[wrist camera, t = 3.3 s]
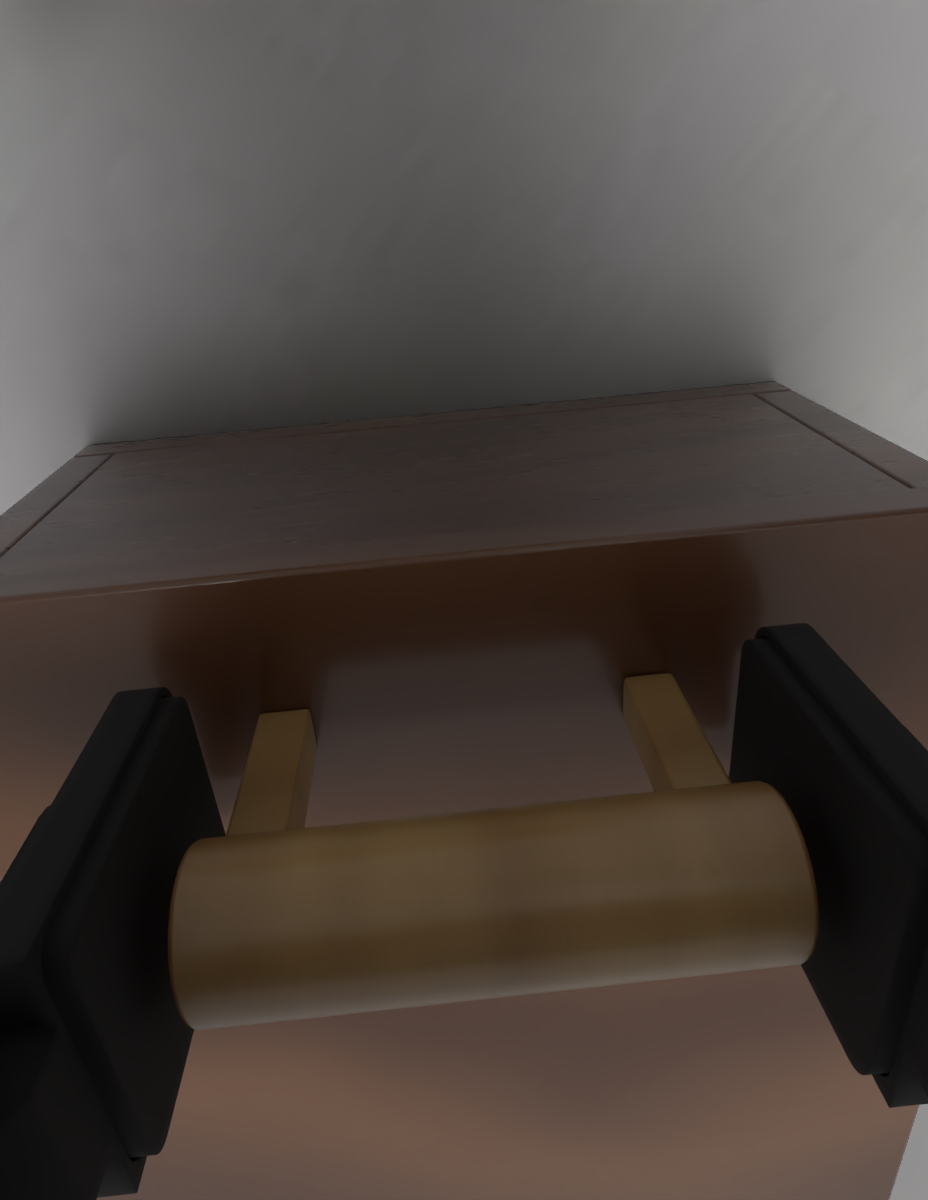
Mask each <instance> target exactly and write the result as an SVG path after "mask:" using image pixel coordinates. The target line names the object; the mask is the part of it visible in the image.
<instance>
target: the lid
mask: <svg viewBox="0 0 928 1200" xmlns="http://www.w3.org/2000/svg"><path fill="white" fill-rule="evenodd" d="M797 623H807V624H809V625H810V626H811V627H813V629H814V630H815V631H816V632H817V633H818V634H819V635H820V636H821V637H822V638H823V639H824V640H825V641H826V643H827V644H828V645H829V646H830V647H831V648H832V649H833V650H834V651H835V652H836V653H837V654H838V655H839V657H840V658H841V659H842V660H843V661H844V662H845V663H846V664H847V665H848V666H849V667H850V668H851V670H852V671H853V672H854V673H855V674H856V675H857V676H858V677H859V678H860V679H861V680H862V681H863V682H864V684H865V685H866V686H867V687H868V688H869V689H870V690H871V691H872V692H873V693H874V694H875V695H876V696H877V698H878V699H879V700H880V701H881V702H882V703H883V704H884V705H885V706H886V707H887V708H888V709H889V711H890V712H891V713H892V714H893V715H894V716H895V717H896V718H897V719H898V720H899V721H900V722H901V723H902V725H904V726H905V727H906V728H907V729H908V730H909V731H910V732H911V733H912V734H913V735H914V736H915V738H916V739H917V740H918V741H919V742H920V743H921V744H922V745H923V746H924V747H925V748H926V749H927V750H928V487H922V488H912V489H902V490H891V491H881V492H870V493H860V494H850V495H839V496H829V497H819V498H808V499H798V500H788V501H777V502H767V503H757V504H746V505H736V506H725V507H715V508H705V509H694V510H684V511H674V512H663V513H653V514H643V515H632V516H622V517H612V518H601V519H591V520H580V521H570V522H560V523H549V524H539V525H529V526H518V527H508V528H498V529H487V530H477V531H466V532H456V533H446V534H435V535H425V536H415V537H404V538H394V539H384V540H373V541H363V542H353V543H342V544H332V545H321V546H311V547H301V548H290V549H280V550H270V551H259V552H249V553H239V554H228V555H218V556H208V557H197V558H187V559H176V560H166V561H156V562H145V563H135V564H125V565H114V566H104V567H94V568H83V569H73V570H63V571H52V572H42V573H31V574H21V575H11V576H0V882H1V881H2V879H3V877H4V876H5V874H6V872H7V870H8V869H9V867H10V865H11V864H12V862H13V860H14V858H15V857H16V855H17V853H18V852H19V850H20V848H21V847H22V845H23V843H24V841H25V840H26V838H27V836H28V835H29V833H30V831H31V829H32V828H33V826H34V824H35V823H36V821H37V819H38V818H39V816H40V815H41V814H42V812H43V811H44V810H45V809H46V807H48V806H50V805H51V804H52V802H53V800H54V799H55V797H56V795H57V794H58V792H59V790H60V788H61V787H62V785H63V783H64V781H65V780H66V778H67V776H68V774H69V773H70V771H71V769H72V768H73V766H74V764H75V762H76V761H77V759H78V757H79V755H80V754H81V752H82V750H83V749H84V747H85V745H86V743H87V742H88V740H89V738H90V736H91V735H92V733H93V731H94V729H95V728H96V726H97V724H98V723H99V721H100V719H101V717H102V716H103V714H104V712H105V710H106V709H107V707H108V705H109V704H110V702H111V700H112V698H113V697H114V696H115V694H116V693H117V692H120V691H127V690H137V689H147V688H157V687H166V688H167V689H169V691H170V692H171V694H172V696H173V697H181V696H182V697H183V698H185V700H186V701H187V703H188V706H189V709H190V713H191V716H192V719H193V723H194V726H195V730H196V733H197V737H198V740H199V744H200V747H201V751H202V754H203V758H204V761H205V765H206V768H207V772H208V775H209V778H210V782H211V785H212V789H213V792H214V796H215V799H216V803H217V806H218V810H219V813H220V817H221V820H222V824H223V827H224V831H225V834H226V836H221V837H212V838H203V839H200V840H198V841H196V842H194V843H193V844H191V845H190V846H189V848H188V849H187V850H186V852H185V854H184V856H183V858H182V860H181V862H180V865H179V868H178V871H177V874H176V878H175V882H174V886H173V891H172V897H171V902H170V910H169V921H168V966H169V975H170V982H171V988H172V993H173V997H174V1001H175V1005H176V1008H177V1011H178V1013H179V1015H180V1017H181V1019H182V1020H183V1022H184V1023H185V1024H186V1025H187V1026H188V1027H190V1028H192V1029H194V1032H193V1036H192V1040H191V1044H190V1048H189V1052H188V1056H187V1060H186V1064H185V1068H184V1072H183V1076H182V1080H181V1084H180V1088H179V1092H178V1096H177V1100H176V1103H175V1107H174V1111H173V1115H172V1119H171V1123H170V1127H169V1131H168V1135H167V1138H166V1141H165V1145H164V1146H163V1148H162V1150H161V1152H160V1153H159V1154H158V1155H152V1156H147V1159H146V1162H145V1166H144V1170H143V1174H142V1177H141V1181H140V1185H139V1188H138V1192H137V1193H135V1194H126V1195H117V1196H108V1197H100V1198H97V1199H96V1200H889V1199H890V1195H891V1192H892V1189H893V1186H894V1183H895V1180H896V1176H897V1173H898V1170H899V1167H900V1164H901V1161H902V1157H903V1154H904V1151H905V1148H906V1145H907V1142H908V1139H909V1136H910V1133H911V1129H912V1126H913V1123H914V1119H915V1117H916V1114H917V1111H918V1107H919V1105H911V1106H902V1107H894V1108H889V1107H888V1105H887V1103H886V1101H885V1099H884V1097H883V1095H882V1093H881V1091H880V1090H879V1088H878V1086H877V1084H876V1082H875V1080H874V1078H873V1076H872V1075H861V1074H859V1073H858V1072H857V1071H856V1070H855V1069H854V1067H853V1066H852V1064H851V1062H850V1061H849V1059H848V1057H847V1055H846V1053H845V1051H844V1049H843V1047H842V1045H841V1043H840V1041H839V1039H838V1037H837V1035H836V1033H835V1031H834V1029H833V1028H832V1026H831V1024H830V1022H829V1020H828V1018H827V1016H826V1014H825V1012H824V1010H823V1008H822V1006H821V1004H820V1002H819V1000H818V998H817V996H816V994H815V992H814V990H813V988H812V986H811V984H810V982H809V980H808V978H807V976H806V974H805V972H804V970H803V968H802V967H801V964H803V963H804V962H806V961H807V960H809V959H810V958H811V956H812V955H813V953H814V950H815V948H816V944H817V939H818V932H819V907H818V896H817V889H816V883H815V878H814V872H813V868H812V864H811V860H810V856H809V853H808V850H807V846H806V843H805V841H804V838H803V835H802V832H801V830H800V827H799V825H798V823H797V821H796V818H795V816H794V814H793V812H792V811H791V809H790V807H789V805H788V804H787V802H786V801H785V799H784V798H783V796H782V795H781V794H780V793H779V792H778V791H777V790H776V789H775V788H774V787H773V786H771V785H770V784H768V783H765V782H761V781H750V782H740V783H732V782H731V780H730V779H729V771H730V761H731V751H732V740H733V730H734V720H735V710H736V700H737V690H738V679H739V669H740V659H741V650H742V646H743V643H744V642H745V641H746V640H750V639H755V635H756V633H757V630H758V629H760V628H761V627H767V626H777V625H787V624H797Z"/></svg>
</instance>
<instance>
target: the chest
mask: <svg viewBox="0 0 928 1200" xmlns="http://www.w3.org/2000/svg"><path fill="white" fill-rule="evenodd" d="M922 487H928V461H927V460H925V459H923V458H921V457H919V456H917V455H915V454H913V453H911V452H909V451H907V450H905V449H904V448H902V447H900V446H898V445H896V444H894V443H892V442H890V441H888V440H886V439H884V438H882V437H881V436H879V435H877V434H875V433H873V432H871V431H869V430H867V429H865V428H863V427H861V426H859V425H858V424H856V423H854V422H852V421H850V420H848V419H846V418H844V417H842V416H840V415H838V414H837V413H835V412H833V411H831V410H829V409H827V408H825V407H823V406H821V405H819V404H817V403H815V402H814V401H812V400H810V399H808V398H806V397H804V396H802V395H800V394H798V393H796V392H794V391H791V389H789V388H787V387H785V386H783V385H781V384H779V383H777V382H764V383H753V384H743V385H732V386H721V387H710V388H700V389H689V390H678V391H667V392H657V393H646V394H635V395H625V396H614V397H603V398H592V399H582V400H571V401H560V402H550V403H539V404H528V405H517V406H507V407H496V408H485V409H474V410H464V411H453V412H442V413H432V414H421V415H410V416H399V417H389V418H378V419H367V420H357V421H346V422H335V423H324V424H314V425H303V426H292V427H281V428H271V429H260V430H249V431H239V432H228V433H217V434H206V435H196V436H185V437H174V438H164V439H153V440H142V441H131V442H121V443H110V444H99V445H89V446H87V447H85V448H84V449H83V450H82V451H80V452H79V453H78V454H77V455H75V456H74V458H72V459H70V460H69V461H68V462H67V463H65V464H64V465H63V466H62V467H60V468H59V469H58V470H57V471H55V472H54V473H53V474H52V475H50V476H49V477H48V478H47V479H45V480H44V481H43V482H42V483H40V484H39V485H38V486H37V487H35V488H34V489H33V490H32V491H30V492H29V493H28V494H27V495H26V496H24V497H23V498H22V499H21V500H19V501H18V502H17V503H16V504H14V505H13V506H12V507H11V508H9V509H8V510H7V511H6V512H4V513H3V514H2V515H1V516H0V576H11V575H21V574H31V573H42V572H52V571H63V570H73V569H83V568H94V567H104V566H114V565H125V564H135V563H145V562H156V561H166V560H176V559H187V558H197V557H208V556H218V555H228V554H239V553H249V552H259V551H270V550H280V549H290V548H301V547H311V546H321V545H332V544H342V543H353V542H363V541H373V540H384V539H394V538H404V537H415V536H425V535H435V534H446V533H456V532H466V531H477V530H487V529H498V528H508V527H518V526H529V525H539V524H549V523H560V522H570V521H580V520H591V519H601V518H612V517H622V516H632V515H643V514H653V513H663V512H674V511H684V510H694V509H705V508H715V507H725V506H736V505H746V504H757V503H767V502H777V501H788V500H798V499H808V498H819V497H829V496H839V495H850V494H860V493H870V492H881V491H891V490H902V489H912V488H922Z"/></svg>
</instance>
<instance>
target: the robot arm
mask: <svg viewBox="0 0 928 1200" xmlns="http://www.w3.org/2000/svg"><path fill="white" fill-rule="evenodd" d="M729 779H730V780H731V782H732V783H740V782H750V781H761V782H765V783H768V784H770V785H771V786H773V787H774V788H775V789H776V790H777V791H778V792H779V793H780V794H781V795H782V796H783V798H784V799H785V801H786V802H787V804H788V805H789V807H790V809H791V811H792V812H793V814H794V816H795V818H796V821H797V823H798V825H799V827H800V830H801V832H802V835H803V838H804V841H805V843H806V846H807V850H808V853H809V856H810V860H811V864H812V868H813V872H814V878H815V883H816V889H817V896H818V907H819V932H818V939H817V944H816V948H815V950H814V953H813V955H812V956H811V958H810V959H809V960H807V961H806V962H804V963H803V964H801V967H802V968H803V970H804V972H805V974H806V976H807V978H808V980H809V982H810V984H811V986H812V988H813V990H814V992H815V994H816V996H817V998H818V1000H819V1002H820V1004H821V1006H822V1008H823V1010H824V1012H825V1014H826V1016H827V1018H828V1020H829V1022H830V1024H831V1026H832V1028H833V1029H834V1031H835V1033H836V1035H837V1037H838V1039H839V1041H840V1043H841V1045H842V1047H843V1049H844V1051H845V1053H846V1055H847V1057H848V1059H849V1061H850V1062H851V1064H852V1066H853V1067H854V1069H855V1070H856V1071H857V1072H858V1073H859V1074H861V1075H872V1076H873V1078H874V1080H875V1082H876V1084H877V1086H878V1088H879V1090H880V1091H881V1093H882V1095H883V1097H884V1099H885V1101H886V1103H887V1105H888V1107H889V1108H894V1107H902V1106H911V1105H920V1104H928V750H927V749H926V748H925V747H924V746H923V745H922V744H921V743H920V742H919V741H918V740H917V739H916V738H915V736H914V735H913V734H912V733H911V732H910V731H909V730H908V729H907V728H906V727H905V726H904V725H902V723H901V722H900V721H899V720H898V719H897V718H896V717H895V716H894V715H893V714H892V713H891V712H890V711H889V709H888V708H887V707H886V706H885V705H884V704H883V703H882V702H881V701H880V700H879V699H878V698H877V696H876V695H875V694H874V693H873V692H872V691H871V690H870V689H869V688H868V687H867V686H866V685H865V684H864V682H863V681H862V680H861V679H860V678H859V677H858V676H857V675H856V674H855V673H854V672H853V671H852V670H851V668H850V667H849V666H848V665H847V664H846V663H845V662H844V661H843V660H842V659H841V658H840V657H839V655H838V654H837V653H836V652H835V651H834V650H833V649H832V648H831V647H830V646H829V645H828V644H827V643H826V641H825V640H824V639H823V638H822V637H821V636H820V635H819V634H818V633H817V632H816V631H815V630H814V629H813V627H811V626H810V625H809V624H807V623H797V624H787V625H777V626H767V627H761V628H760V629H758V630H757V633H756V635H755V639H750V640H746V641H745V642H744V643H743V646H742V650H741V659H740V669H739V679H738V690H737V700H736V710H735V720H734V730H733V740H732V751H731V761H730V771H729ZM221 836H226V834H225V831H224V827H223V824H222V820H221V817H220V813H219V810H218V806H217V803H216V799H215V796H214V792H213V789H212V785H211V782H210V778H209V775H208V772H207V768H206V765H205V761H204V758H203V754H202V751H201V747H200V744H199V740H198V737H197V733H196V730H195V726H194V723H193V719H192V716H191V713H190V709H189V706H188V703H187V701H186V700H185V698H183V697H182V696H181V697H173V696H172V694H171V692H170V691H169V689H167V688H166V687H157V688H147V689H137V690H127V691H120V692H117V693H116V694H115V696H114V697H113V698H112V700H111V702H110V704H109V705H108V707H107V709H106V710H105V712H104V714H103V716H102V717H101V719H100V721H99V723H98V724H97V726H96V728H95V729H94V731H93V733H92V735H91V736H90V738H89V740H88V742H87V743H86V745H85V747H84V749H83V750H82V752H81V754H80V755H79V757H78V759H77V761H76V762H75V764H74V766H73V768H72V769H71V771H70V773H69V774H68V776H67V778H66V780H65V781H64V783H63V785H62V787H61V788H60V790H59V792H58V794H57V795H56V797H55V799H54V800H53V802H52V804H51V805H50V806H48V807H46V809H45V810H44V811H43V812H42V814H41V815H40V816H39V818H38V819H37V821H36V823H35V824H34V826H33V828H32V829H31V831H30V833H29V835H28V836H27V838H26V840H25V841H24V843H23V845H22V847H21V848H20V850H19V852H18V853H17V855H16V857H15V858H14V860H13V862H12V864H11V865H10V867H9V869H8V870H7V872H6V874H5V876H4V877H3V879H2V881H1V882H0V1200H96V1199H97V1198H100V1197H108V1196H117V1195H126V1194H135V1193H137V1192H138V1188H139V1185H140V1181H141V1177H142V1174H143V1170H144V1166H145V1162H146V1159H147V1156H152V1155H158V1154H159V1153H160V1152H161V1150H162V1148H163V1146H164V1145H165V1141H166V1138H167V1135H168V1131H169V1127H170V1123H171V1119H172V1115H173V1111H174V1107H175V1103H176V1100H177V1096H178V1092H179V1088H180V1084H181V1080H182V1076H183V1072H184V1068H185V1064H186V1060H187V1056H188V1052H189V1048H190V1044H191V1040H192V1036H193V1032H194V1029H192V1028H190V1027H188V1026H187V1025H186V1024H185V1023H184V1022H183V1020H182V1019H181V1017H180V1015H179V1013H178V1011H177V1008H176V1005H175V1001H174V997H173V993H172V988H171V982H170V975H169V966H168V921H169V910H170V902H171V897H172V891H173V886H174V882H175V878H176V874H177V871H178V868H179V865H180V862H181V860H182V858H183V856H184V854H185V852H186V850H187V849H188V848H189V846H190V845H191V844H193V843H194V842H196V841H198V840H200V839H203V838H212V837H221Z"/></svg>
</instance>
